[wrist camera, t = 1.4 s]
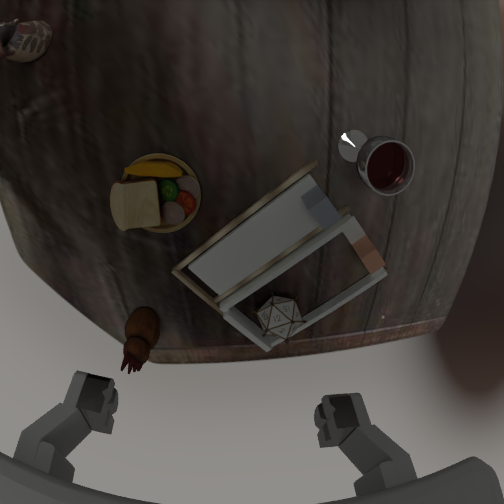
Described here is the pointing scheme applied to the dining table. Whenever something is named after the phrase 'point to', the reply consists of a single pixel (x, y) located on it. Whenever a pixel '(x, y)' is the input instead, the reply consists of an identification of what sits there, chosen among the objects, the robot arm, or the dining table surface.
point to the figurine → (24, 40)
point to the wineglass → (379, 161)
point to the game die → (279, 317)
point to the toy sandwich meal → (155, 195)
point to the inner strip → (265, 235)
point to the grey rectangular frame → (345, 225)
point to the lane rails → (234, 223)
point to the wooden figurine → (140, 338)
